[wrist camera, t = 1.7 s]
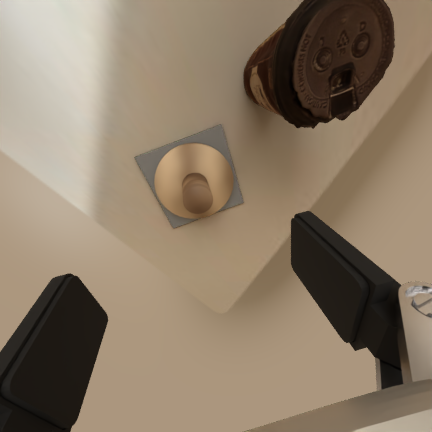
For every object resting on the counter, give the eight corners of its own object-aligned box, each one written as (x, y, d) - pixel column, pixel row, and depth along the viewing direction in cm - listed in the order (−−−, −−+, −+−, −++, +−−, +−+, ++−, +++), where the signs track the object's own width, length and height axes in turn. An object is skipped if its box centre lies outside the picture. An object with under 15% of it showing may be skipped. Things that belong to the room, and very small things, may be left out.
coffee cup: (279, 127, 28) (347, 148, 17) (223, 102, 25) (260, 108, 14) (315, 51, 24) (434, 14, 13) (254, 13, 21) (337, -75, 10)
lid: (219, 130, 26) (229, 138, 21) (239, 200, 32) (251, 221, 27) (140, 160, 26) (131, 175, 21) (174, 224, 32) (174, 249, 27)
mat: (221, 124, 26) (221, 124, 26) (243, 201, 32) (243, 202, 32) (135, 157, 26) (134, 157, 26) (173, 227, 33) (173, 228, 32)
